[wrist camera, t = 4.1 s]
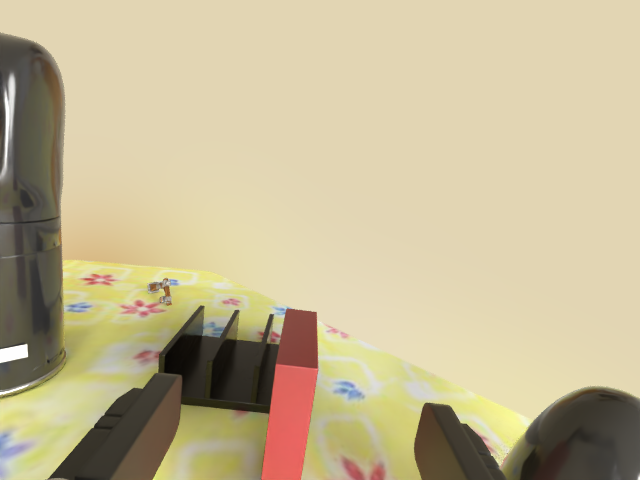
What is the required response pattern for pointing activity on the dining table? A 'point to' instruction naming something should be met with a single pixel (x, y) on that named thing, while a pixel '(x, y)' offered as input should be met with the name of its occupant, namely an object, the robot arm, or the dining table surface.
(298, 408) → the book
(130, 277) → the dining table surface
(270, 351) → the book rack
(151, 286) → the brown two-tone jointed fixture
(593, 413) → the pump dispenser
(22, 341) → the robot arm
